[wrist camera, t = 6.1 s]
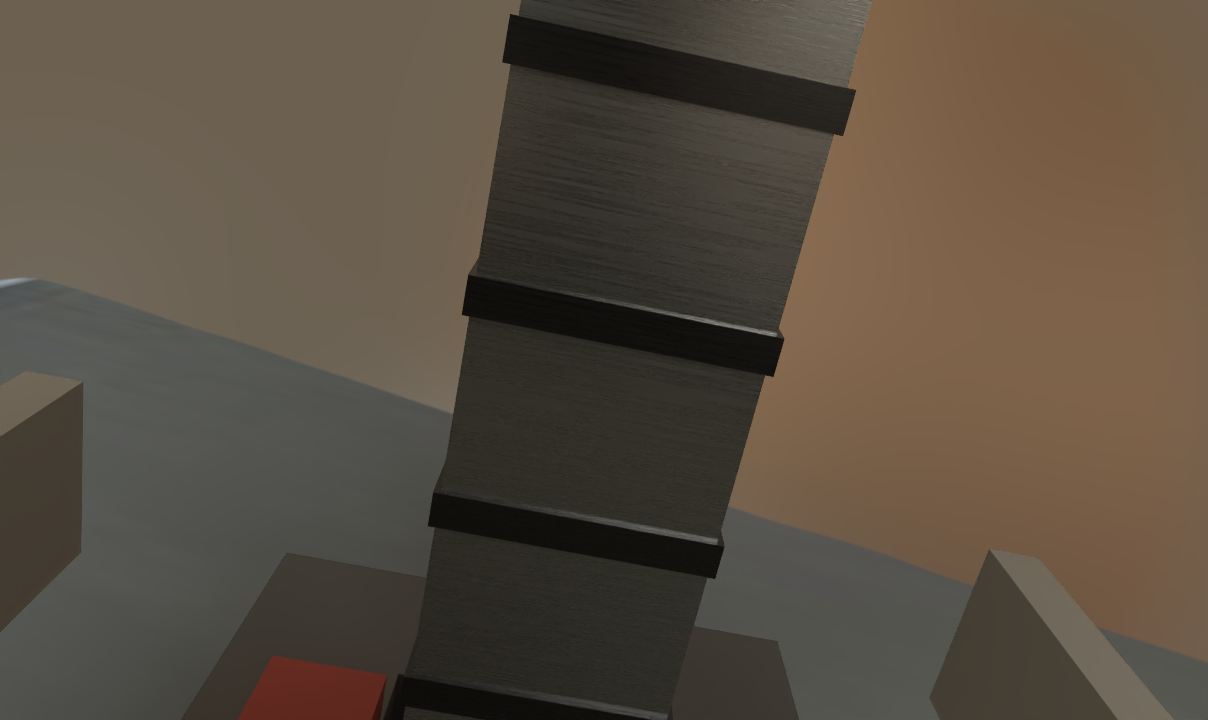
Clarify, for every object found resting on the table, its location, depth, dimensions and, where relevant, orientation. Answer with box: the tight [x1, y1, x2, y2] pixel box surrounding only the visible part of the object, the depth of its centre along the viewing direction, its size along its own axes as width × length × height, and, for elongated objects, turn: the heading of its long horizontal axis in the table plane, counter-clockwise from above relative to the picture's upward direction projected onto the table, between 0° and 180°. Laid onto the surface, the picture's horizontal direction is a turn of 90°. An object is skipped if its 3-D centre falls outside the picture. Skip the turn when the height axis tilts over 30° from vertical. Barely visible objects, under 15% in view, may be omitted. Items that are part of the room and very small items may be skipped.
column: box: [399, 0, 872, 720], centre depth 17 cm, size 5×5×23 cm
